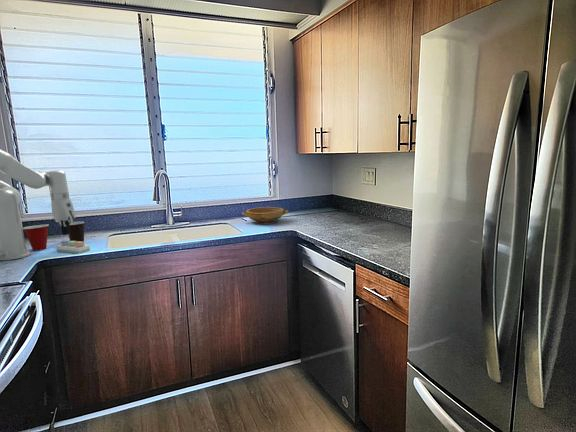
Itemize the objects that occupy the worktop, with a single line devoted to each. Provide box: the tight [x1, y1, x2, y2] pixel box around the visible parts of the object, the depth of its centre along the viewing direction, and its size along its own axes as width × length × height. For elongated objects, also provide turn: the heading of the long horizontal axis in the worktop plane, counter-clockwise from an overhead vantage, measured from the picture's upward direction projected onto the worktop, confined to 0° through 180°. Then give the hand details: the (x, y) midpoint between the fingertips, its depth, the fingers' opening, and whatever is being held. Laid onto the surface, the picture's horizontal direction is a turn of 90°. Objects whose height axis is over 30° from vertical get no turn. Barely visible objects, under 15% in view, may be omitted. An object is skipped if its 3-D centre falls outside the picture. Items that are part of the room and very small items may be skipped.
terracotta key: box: [75, 241, 85, 247], centre depth 176 cm, size 2×3×2 cm
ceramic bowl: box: [241, 206, 289, 225], centre depth 235 cm, size 30×24×8 cm
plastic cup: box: [23, 223, 50, 251], centre depth 182 cm, size 11×11×12 cm
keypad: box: [56, 244, 91, 254], centre depth 178 cm, size 6×15×2 cm, turn 68°
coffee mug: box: [67, 221, 85, 242], centre depth 194 cm, size 12×9×10 cm
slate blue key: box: [60, 239, 70, 246], centre depth 179 cm, size 2×3×2 cm
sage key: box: [68, 241, 77, 246], centre depth 177 cm, size 2×3×2 cm
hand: (66, 234), depth 179 cm, fingers closed
